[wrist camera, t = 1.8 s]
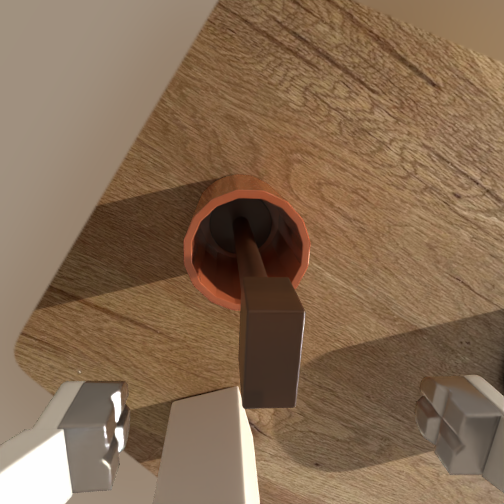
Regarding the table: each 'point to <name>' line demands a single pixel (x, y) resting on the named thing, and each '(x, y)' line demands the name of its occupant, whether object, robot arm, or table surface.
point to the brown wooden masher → (261, 309)
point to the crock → (225, 263)
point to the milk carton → (208, 452)
